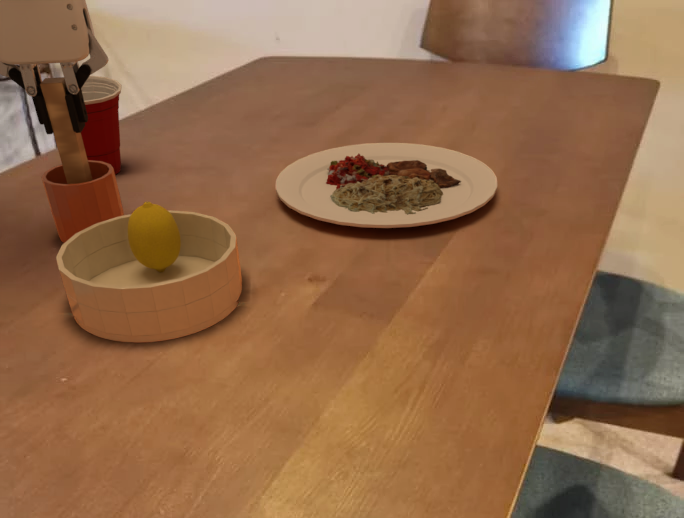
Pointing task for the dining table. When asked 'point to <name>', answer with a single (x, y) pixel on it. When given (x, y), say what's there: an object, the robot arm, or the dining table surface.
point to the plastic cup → (102, 120)
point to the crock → (82, 198)
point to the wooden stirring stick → (65, 132)
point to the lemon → (154, 236)
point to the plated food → (386, 185)
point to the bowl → (151, 280)
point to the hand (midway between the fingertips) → (66, 128)
